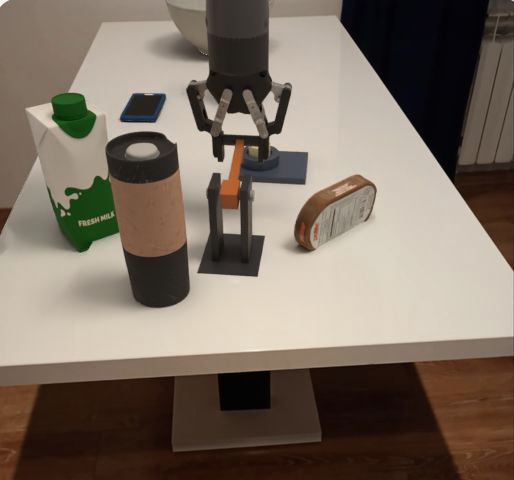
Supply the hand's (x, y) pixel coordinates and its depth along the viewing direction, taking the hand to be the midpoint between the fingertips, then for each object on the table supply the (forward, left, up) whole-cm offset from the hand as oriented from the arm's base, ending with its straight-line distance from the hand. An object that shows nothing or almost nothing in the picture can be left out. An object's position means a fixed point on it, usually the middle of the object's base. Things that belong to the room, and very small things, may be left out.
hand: (241, 160), depth 81 cm
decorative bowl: (-16, +84, -10) cm, 86 cm away
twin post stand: (0, -11, -10) cm, 14 cm away
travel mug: (-8, -20, -10) cm, 23 cm away
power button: (+1, +15, -6) cm, 16 cm away
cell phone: (-26, +42, -10) cm, 51 cm away
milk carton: (-22, -6, -10) cm, 24 cm away
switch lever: (0, -5, 0) cm, 6 cm away
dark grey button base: (+3, +15, -10) cm, 18 cm away
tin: (+14, -4, -10) cm, 18 cm away
